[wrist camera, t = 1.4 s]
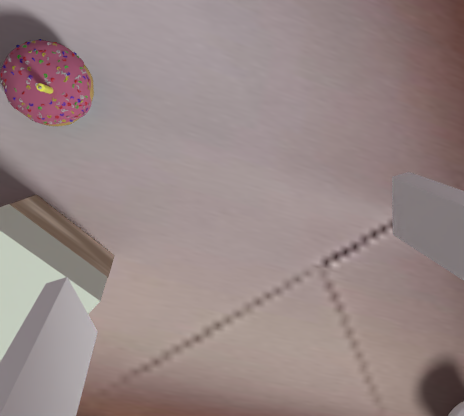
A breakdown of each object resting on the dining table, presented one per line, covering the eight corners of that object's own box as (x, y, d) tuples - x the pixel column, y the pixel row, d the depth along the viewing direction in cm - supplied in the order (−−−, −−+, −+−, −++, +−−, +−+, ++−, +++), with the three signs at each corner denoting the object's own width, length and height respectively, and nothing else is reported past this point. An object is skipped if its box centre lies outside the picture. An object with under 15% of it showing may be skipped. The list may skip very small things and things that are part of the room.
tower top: (27, 360, 33) (3, 403, 27) (-84, 296, 29) (-139, 329, 24) (107, 276, 34) (100, 301, 28) (8, 203, 30) (-23, 214, 25)
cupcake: (113, 108, 39) (100, 88, 27) (51, 143, 37) (10, 137, 26) (69, 41, 36) (35, -12, 25) (1, 76, 35) (-68, 36, 24)
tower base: (49, 322, 41) (28, 360, 33) (-37, 266, 37) (-83, 295, 29) (114, 255, 42) (108, 277, 34) (36, 194, 38) (10, 204, 30)
